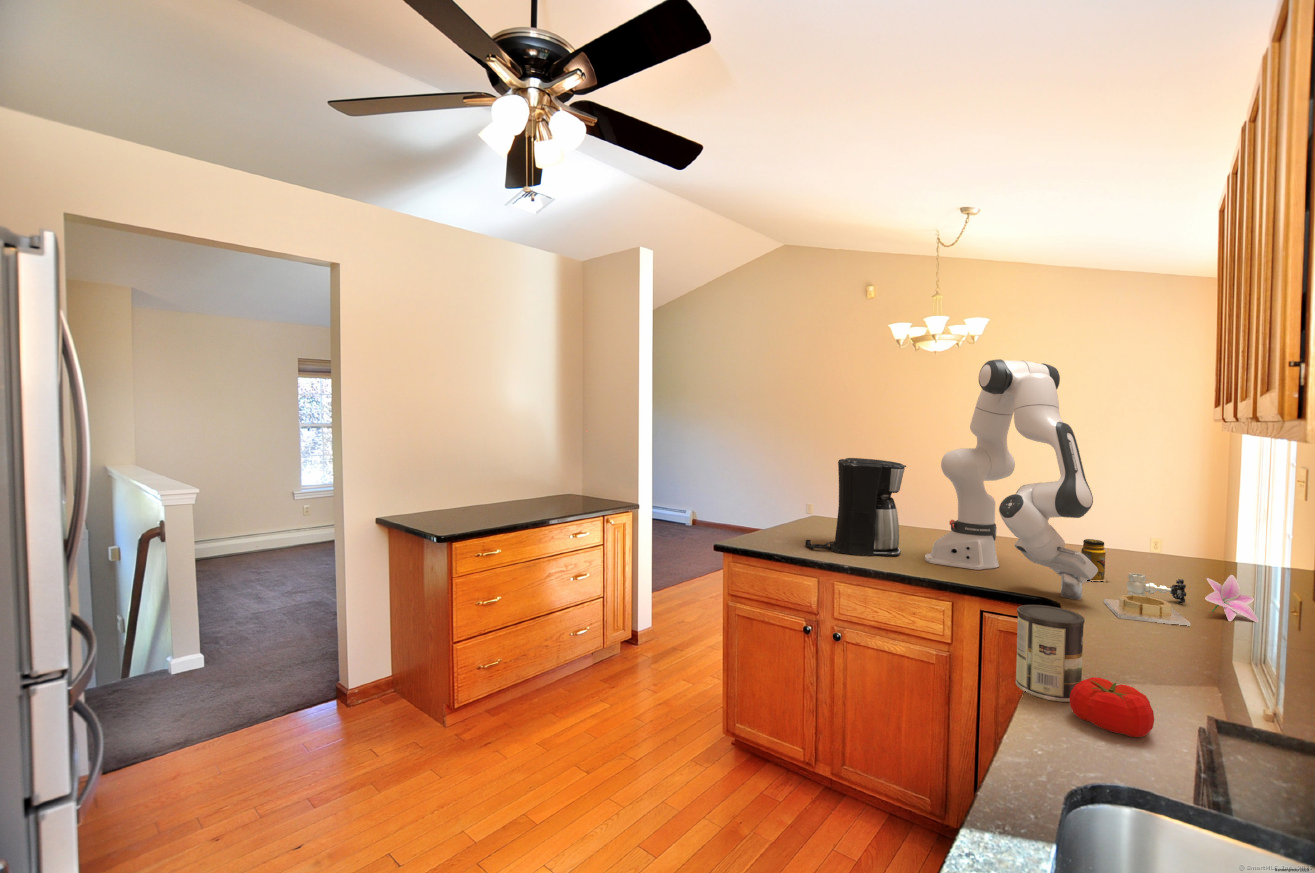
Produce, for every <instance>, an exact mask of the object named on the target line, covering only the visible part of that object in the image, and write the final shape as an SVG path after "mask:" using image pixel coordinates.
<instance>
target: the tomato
mask: <svg viewBox="0 0 1315 873" xmlns="http://www.w3.org/2000/svg"><path fill="white" fill-rule="evenodd" d="M1069 700H1070V702H1069V706H1070V709H1071V711H1072V713H1073V714H1074V715H1075V717H1077V718H1079V719H1080V720H1083V721H1084V722H1085V721H1086V722H1088V723H1091V724H1093V725H1095V726H1096V727H1098V728H1101V729H1103V730H1105V731H1108V732H1112V733H1116V734H1121V735H1122V734H1123V735H1125V736H1127V737H1131V738H1141V737H1145V736H1147V735H1148V734H1149V733H1150V732H1151V731H1152V730H1153V728H1154V723H1155V713H1154V709H1153V708H1152V706H1151V703H1150V700H1149V699H1148V697H1147V695H1145V694H1144V693H1143V692H1140V691H1139V690H1138V689H1136V688H1135V687H1134V686H1130V685H1127V684H1118V685H1117V682H1115V683H1113V682H1112V681H1110V680H1108V679H1104V678H1102V677H1093V676H1092V677H1089V678H1086V679H1082V681H1081V682H1080V683H1078V684H1076V685H1075V686H1074V688H1073V689H1072V691H1071V694H1070V698H1069Z"/></svg>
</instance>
